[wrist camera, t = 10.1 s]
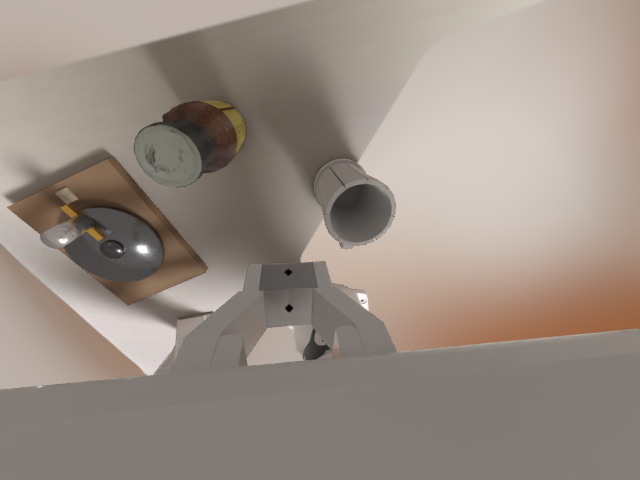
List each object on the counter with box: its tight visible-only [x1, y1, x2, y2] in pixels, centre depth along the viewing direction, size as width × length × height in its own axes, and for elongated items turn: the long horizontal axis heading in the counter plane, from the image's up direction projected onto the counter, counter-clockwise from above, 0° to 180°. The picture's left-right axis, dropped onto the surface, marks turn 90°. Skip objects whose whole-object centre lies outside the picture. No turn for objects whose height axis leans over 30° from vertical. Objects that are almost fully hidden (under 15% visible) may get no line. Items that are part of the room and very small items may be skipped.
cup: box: [314, 158, 396, 249], centre depth 33 cm, size 10×9×12 cm
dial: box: [40, 204, 165, 282], centre depth 33 cm, size 14×13×6 cm
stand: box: [7, 157, 208, 305], centre depth 37 cm, size 21×16×2 cm
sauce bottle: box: [134, 100, 246, 187], centre depth 23 cm, size 7×6×20 cm
